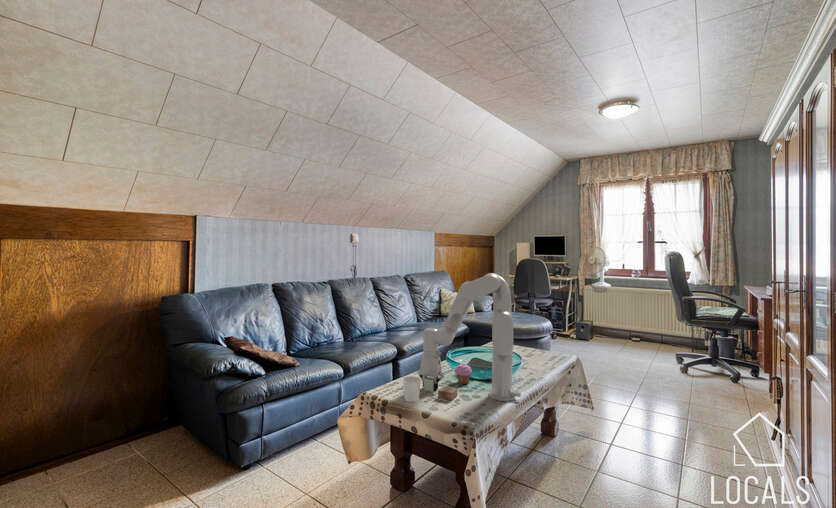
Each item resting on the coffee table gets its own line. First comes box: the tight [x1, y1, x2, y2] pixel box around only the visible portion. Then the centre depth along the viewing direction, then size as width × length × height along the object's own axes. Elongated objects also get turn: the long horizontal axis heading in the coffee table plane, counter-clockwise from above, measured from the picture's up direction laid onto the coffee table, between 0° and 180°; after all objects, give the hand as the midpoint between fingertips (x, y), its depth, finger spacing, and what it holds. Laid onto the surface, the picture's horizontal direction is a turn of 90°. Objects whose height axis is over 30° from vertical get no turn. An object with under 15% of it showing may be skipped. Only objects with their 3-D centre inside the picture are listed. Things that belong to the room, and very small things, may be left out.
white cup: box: [403, 375, 421, 403], centre depth 183 cm, size 8×8×10 cm
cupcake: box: [454, 363, 473, 385], centre depth 208 cm, size 9×9×10 cm
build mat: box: [435, 395, 460, 403], centre depth 186 cm, size 18×12×1 cm, turn 63°
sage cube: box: [423, 376, 435, 393], centre depth 197 cm, size 5×5×6 cm
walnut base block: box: [437, 385, 458, 402], centre depth 186 cm, size 7×7×4 cm
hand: (430, 389), depth 197 cm, fingers closed on sage cube, 5 cm apart
